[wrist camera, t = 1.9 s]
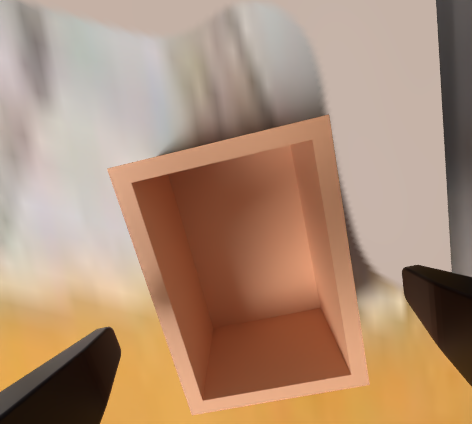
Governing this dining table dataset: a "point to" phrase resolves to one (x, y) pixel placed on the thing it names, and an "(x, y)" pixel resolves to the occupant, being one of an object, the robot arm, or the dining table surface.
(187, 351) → the small crate
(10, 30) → the dining table surface
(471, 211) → the big crate
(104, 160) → the dining table surface
